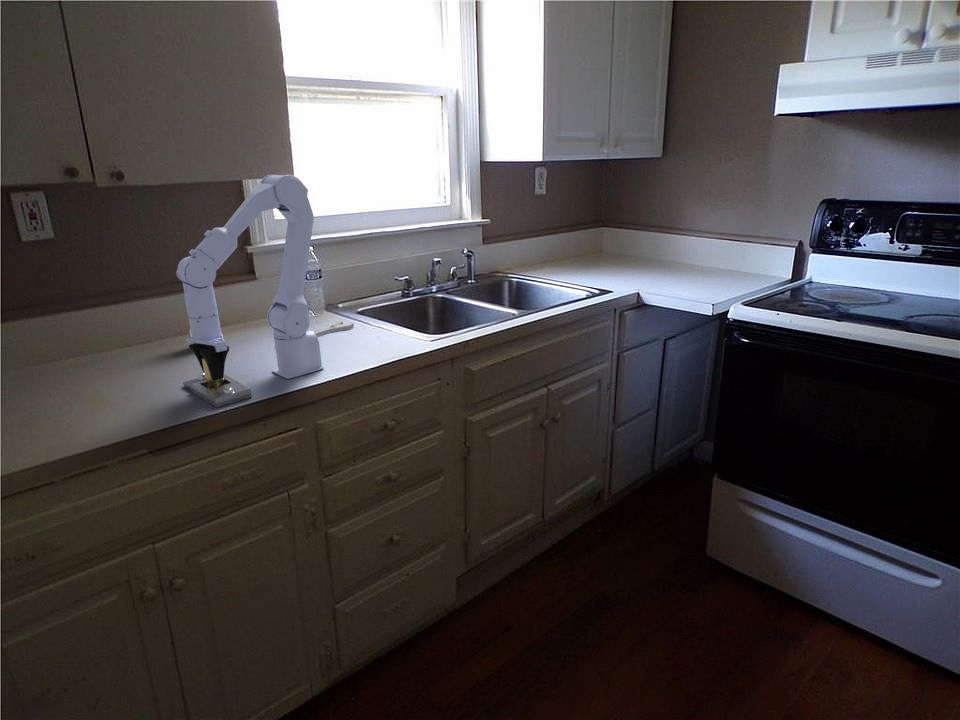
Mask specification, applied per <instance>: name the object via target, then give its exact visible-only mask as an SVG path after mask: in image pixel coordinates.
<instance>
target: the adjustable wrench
mask: <svg viewBox="0 0 960 720" xmlns="http://www.w3.org/2000/svg"><path fill="white" fill-rule="evenodd" d="M353 328H354V321H351V322H349V323H345V324H344V321H334V322H331V323H328V324H327V326H326V327H323V328H319V329H316V330H314V331H313V330H312V331H313V332H314V333H315V334H316V336H317V338H318V337H321V335H322V336H324V335H327V334H328V335H329V334H331V333H336V332H341V331H342V332H343V331H344V332H345V331H348V330H352V329H353Z"/></svg>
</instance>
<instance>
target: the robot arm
mask: <svg viewBox="0 0 960 720" xmlns="http://www.w3.org/2000/svg"><path fill="white" fill-rule="evenodd" d="M308 195H309V190H308V188H307V186H305V184H304V183H303V182H302V181H301V180H300V179H299V178H298V177H297V176H295V175H292V174H286V175H279V174H278V175H277V174H268V175H265V176H264V177H263V178H262V179H261V181H260V182H259V183H257V184H256V185H255V186H254V187H253V189H252V190H251V192H250V193H249V194H248V195H247V197H246V198H245V199H244V200H243V202H242V203H241V204H240V206H239V207H238V208H237V209H236V211H235V212H234V213H233V214H232V215H231V217H229V219H228V221H227V222H226V224H225V225H224V226H222V227H214V228H212V230H210V229H208V230H206V231H205V232H204V233H203V235H204V236H205V237H204V238H203V239H202V240H201V242H200V243H199V244H198V245H197V246H196V247H195V249H193V248H191V249H190V250H189V252H188V254H190V256H187V257H183V258H182V259H181V260H180V261H179V263H178V265H177V269H176V271H175V274H176V277H177V278H178V280H179V281H181V282H182V286H183V287H182V289H183V293H184V294H183V295H184V296H183V297H184V301H185V306H186V311H187V317H188V323H189V336H190V337H188V338H186V340H185V341H186V342H187V343H188V344H189V345H188V348H189V349H190V350H191V351H192V353H194V356H195V357H196V359H197V362H198V363H199V366H200V367H201V371H202V372H204V368H203V362H202V358H204V359H205V361H206V363H207V366H208V369H209V372H210V375H211V377H212V379H213V380H218V379H222V378H223V376H224V375H225V374H224V373H225V367H226V366H225V364H226V359H227V356H228V354H229V351H230V346H228V345H227V341H226V340H225V339H224V336H223V333H222V330H221V323H220V319H219V318H220V317H219V312H218V306H217V305H218V304H217V299H216V294H215V290H214V285H213V283H214V281H215V280H216V277H217V271H218V270H219V269H220V267H221V266H222V265H223V264H224V262H226V261H227V259H229V257H230V256H231V255H232V254H233V252H235V250H236V249H237V248H238V237H239V236H241V235H242V233H243V232H244V231H245V230H246V229H247V228H248V227H249V226H250V225H251V224H252V223H253V222H254V221H255V220H256V219H257V218H258V217H259V216H260V215H261V214H262V213H263V212H264V211H269V210H274V209H277V210H278V212H279V213H281V215H282V216H283V217H284V218H285V220H286V221H287V225H286V234H285V242H284V248H283V249H284V251H283V257H282V264H281V265H282V266H281V270H280V271H281V273H280V280H279V287H278V288H279V289H278V291H277V293H276V294H275V295H274V297H273V298H272V303H271V306H270V307H269V309H268V311H267V313H266V321H267V323H268V325H269V326H270V327H271V328H272V329H273V342H274V348H275V354H276V355H275V356H276V363H277V367H275V368H272V369H271V372H272V373H274V374H276V375H278V376H280V377H282V378H284V379H286V380H289V379H293V378H296V377H300V376H303V375H308V374H311V373H314V372H317V371H318V372H319V371H321V370H324V369H325V368H324V366H323V365H322V355H321V348H320V341H319V338H318V337H317V336H316V334H315V333H314V332H313V330H312V329H311V330H309V327H310V318H309V314H308V309H309V306H308V305H309V304H308V302H307V300H306V298H305V296H304V295H305V294H304V292H305V285H306V284H305V283H306V278H307V270H308V264H309V256H310V248H311V242H312V235H313V234H312V233H313V225H314V216H315V215H314V213H313V210H312V206H311V203H310V200H309V197H308ZM204 374H205V373H204Z"/></svg>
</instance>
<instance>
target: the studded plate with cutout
mask: <svg viewBox="0 0 960 720" xmlns="http://www.w3.org/2000/svg"><path fill="white" fill-rule="evenodd" d="M224 382H225V385H222V386H218V387H215V388H211V389H207V384H206V379H205V374H204V372H203V371H202V372H198V373H197V378H194V379H190V380H186V381H183V383H182V384H183V387H184V388H185V389H188V390H189V391H190V392H192V393H193V394H195V395H196V396H198V397H199V396H200V397H199V398H201V399H202V398H203V400H204V401H205V400H206V402H207V401H208V402H207V403H208V404H210V403H211V404H210V405H212V406H213V405H214V406H213V407H215V406H216V407H218V408H220V407H219V406H221V407H224V406H223V405H225V406H227V405H226V404H228V405H231V404H230V403H232V404H234V403H233V402H235V403H238V402H241V401H240V400H242V401H244V400H243V399H245V400H248V399H251V398H250V397H252V391H251V388H250V387H248V386H246V385H244V384H242V383H241V382H239V381H237V380H235V378H232V377H230V376H228V375H227V374H224ZM247 398H248V399H247ZM237 401H238V402H237ZM216 407H215V408H216Z"/></svg>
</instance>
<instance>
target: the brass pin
mask: <svg viewBox="0 0 960 720" xmlns="http://www.w3.org/2000/svg"><path fill="white" fill-rule="evenodd" d="M202 362H203V368H204V373H205V379H206V384H207V389H211V388H215V387H218V386H222V385H225V382H224V376H223V378H222V379H218V380H213V379H212V377H211V375H210V372H209V369H208V366H207V363H206V361H205V359H204V358H202Z"/></svg>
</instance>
